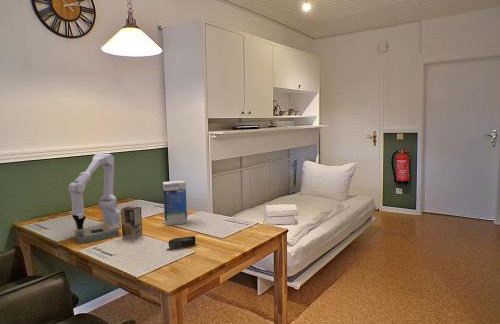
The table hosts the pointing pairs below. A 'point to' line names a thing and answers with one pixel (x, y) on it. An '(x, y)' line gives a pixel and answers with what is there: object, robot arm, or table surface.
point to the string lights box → (175, 202)
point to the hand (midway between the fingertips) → (79, 228)
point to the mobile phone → (181, 242)
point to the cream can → (77, 228)
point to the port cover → (111, 227)
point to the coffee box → (131, 222)
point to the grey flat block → (94, 234)
